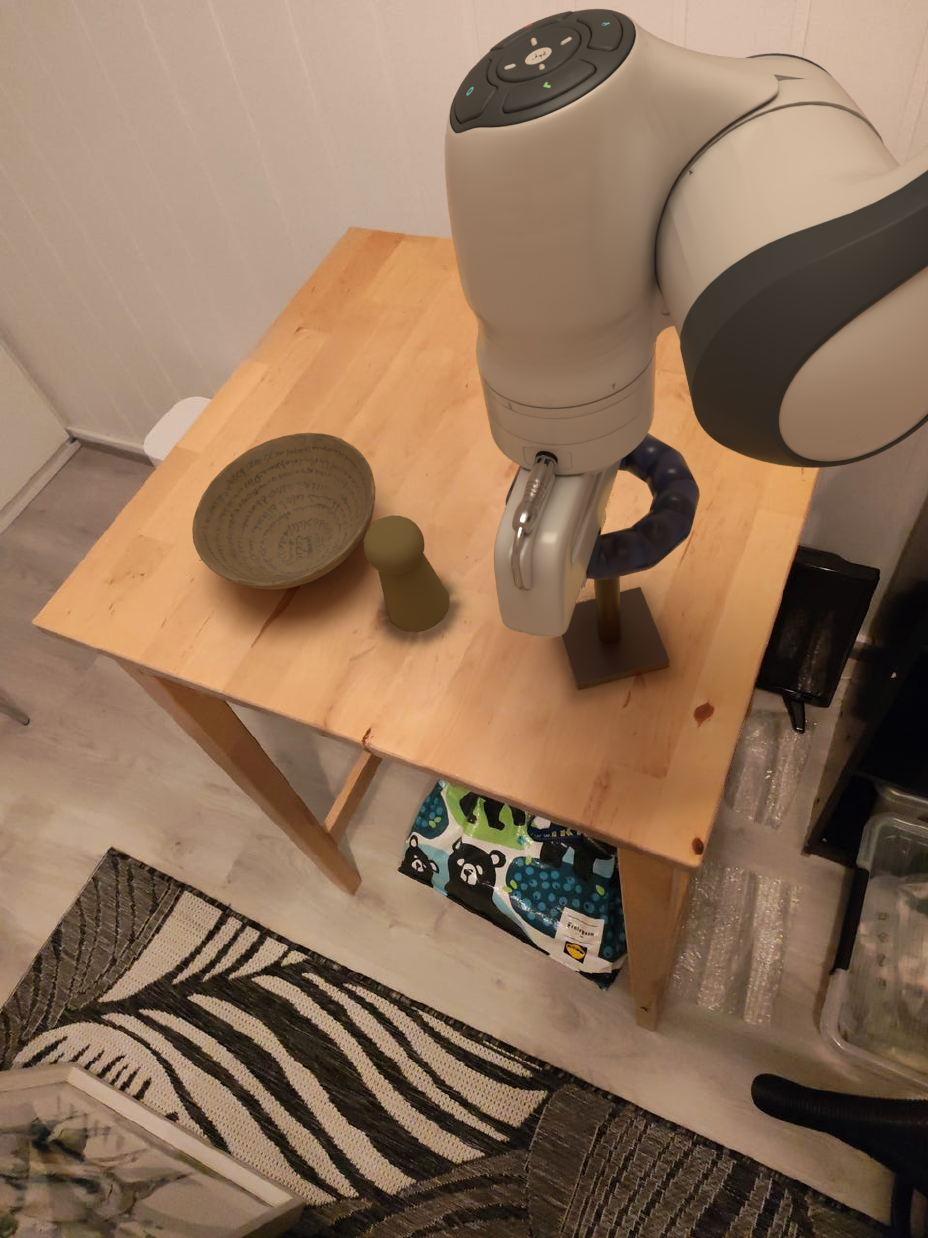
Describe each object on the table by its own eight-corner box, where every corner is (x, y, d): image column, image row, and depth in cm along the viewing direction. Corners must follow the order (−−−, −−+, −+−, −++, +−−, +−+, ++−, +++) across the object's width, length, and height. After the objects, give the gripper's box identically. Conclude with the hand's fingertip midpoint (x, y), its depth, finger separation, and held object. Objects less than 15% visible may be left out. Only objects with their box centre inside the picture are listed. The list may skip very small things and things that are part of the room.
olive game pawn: (458, 584, 77) (434, 509, 68) (436, 637, 74) (408, 566, 65) (400, 574, 79) (370, 499, 70) (377, 625, 76) (342, 554, 67)
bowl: (191, 607, 81) (152, 560, 75) (273, 473, 90) (244, 420, 83) (352, 645, 75) (325, 597, 69) (423, 498, 84) (405, 443, 77)
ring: (661, 430, 61) (662, 400, 59) (723, 560, 53) (728, 531, 51) (494, 473, 61) (488, 444, 59) (533, 607, 54) (528, 580, 51)
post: (640, 592, 73) (640, 513, 64) (669, 666, 68) (674, 593, 59) (554, 615, 73) (542, 539, 64) (577, 690, 69) (568, 620, 59)
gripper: (576, 556, 36) (590, 698, 48) (668, 275, 46) (662, 448, 57) (447, 535, 38) (490, 676, 50) (561, 270, 48) (575, 438, 59)
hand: (582, 552), depth 54 cm, fingers closed on ring, 3 cm apart
